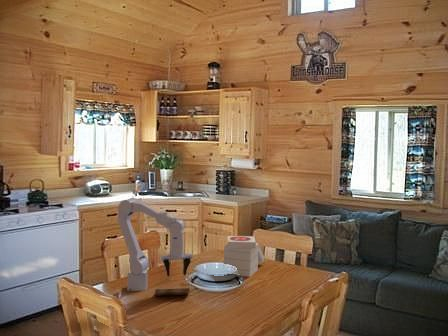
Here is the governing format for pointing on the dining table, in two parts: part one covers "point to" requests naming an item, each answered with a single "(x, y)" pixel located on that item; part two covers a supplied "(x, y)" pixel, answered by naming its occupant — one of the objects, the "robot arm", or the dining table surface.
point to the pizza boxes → (243, 254)
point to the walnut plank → (171, 291)
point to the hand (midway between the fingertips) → (176, 275)
